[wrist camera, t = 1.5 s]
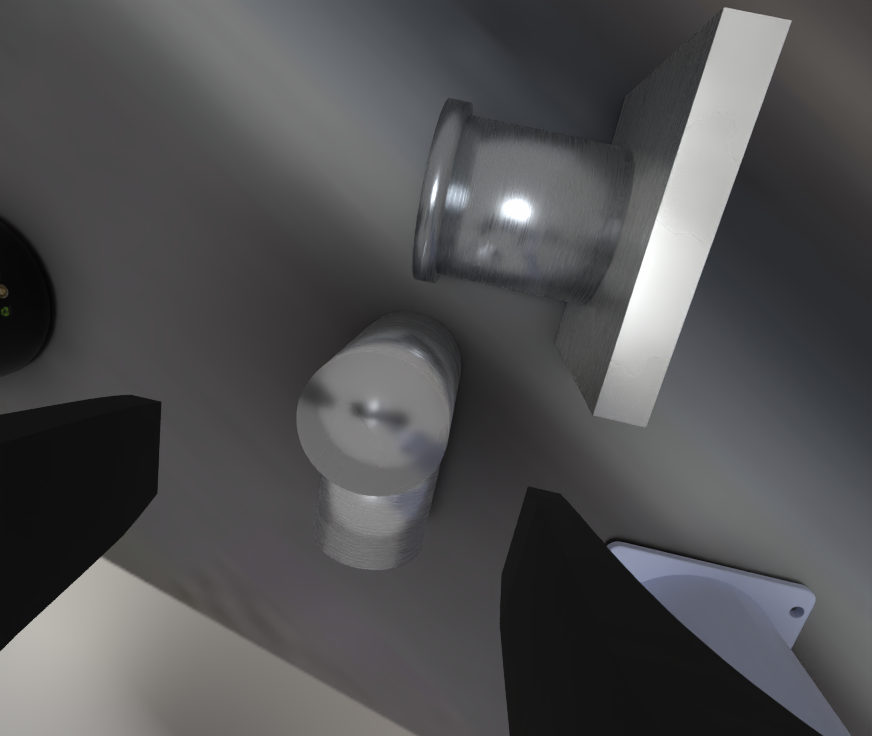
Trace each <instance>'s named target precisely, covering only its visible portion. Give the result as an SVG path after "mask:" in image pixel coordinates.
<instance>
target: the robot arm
mask: <svg viewBox="0 0 872 736" xmlns="http://www.w3.org/2000/svg"><path fill="white" fill-rule="evenodd" d="M160 421H161V402H160V401H155V400H151V399H147V398H142V397H138V396H134V395H119V396H109V397H101V398H94V399H88V400H82V401H75V402H70V403H64V404H58V405H53V406H47V407H41V408H36V409H30V410H25V411H19V412H13V413H8V414H2V415H0V651H1V650H2V649H3V648H4V647H5V646H6V645H7V644H8V643H9V642H10V641H11V640H12V639H13V638H14V637H15V636H16V635H17V634H18V633H19V632H20V631H21V630H22V629H24V628H25V627H26V626H27V625H28V624H29V623H30V622H31V621H32V620H33V619H34V618H35V617H37V616H38V615H39V614H40V613H41V612H42V611H43V610H44V609H45V608H46V607H47V606H48V605H49V604H51V603H52V602H53V601H54V600H55V599H56V598H57V597H58V596H59V595H60V594H61V593H62V592H64V590H66V589H67V588H68V587H69V586H70V585H71V584H72V583H73V582H74V581H75V580H76V579H78V578H79V577H80V576H81V575H82V574H83V573H84V572H85V571H86V570H87V569H88V568H89V567H90V566H92V565H93V564H94V563H95V562H96V561H97V560H98V559H99V558H100V557H101V556H102V555H103V554H104V553H105V552H106V551H107V550H108V549H110V548H111V547H112V546H113V545H114V544H115V543H116V542H117V541H118V540H119V539H120V538H121V537H122V536H123V535H124V534H125V533H126V531H127V530H128V529H129V528H130V527H131V526H132V524H133V523H134V522H135V521H136V520H137V518H138V517H139V516H140V515H141V514H142V512H143V511H144V510H145V508H146V507H147V506H148V505H149V503H150V502H151V501H152V500H153V498H154V497H155V496H156V494H157V489H158V466H159V444H160ZM815 601H816V598H815V595H814V594H813V593H812V592H811V591H810V590H809V588H808V587H806V586H804V585H801V584H797V583H793V582H788V581H784V580H780V579H776V578H772V577H767V576H763V575H759V574H755V573H751V572H746V571H742V570H738V569H734V568H730V567H725V566H721V565H717V564H713V563H708V562H704V561H700V560H696V559H692V558H687V557H683V556H679V555H675V554H671V553H666V552H662V551H658V550H654V549H650V548H645V547H641V546H637V545H633V544H629V543H624V542H617V541H616V542H612V543H610V544H609V545H607V546H606V545H605V544H604V543H603V541H602V540H601V539H600V538H599V537H598V536H597V535H596V533H595V532H594V531H593V530H592V529H591V528H590V527H589V525H588V524H587V523H586V522H585V521H584V520H583V518H582V517H581V516H580V515H579V514H578V513H577V511H576V510H575V509H574V508H573V507H572V506H571V505H570V504H569V502H568V501H567V500H566V499H565V498H564V497H563V496H562V495H561V494H559V493H554V492H550V491H546V490H541V489H537V488H533V487H528V488H527V492H526V495H525V498H524V502H523V505H522V508H521V512H520V515H519V518H518V522H517V525H516V528H515V532H514V535H513V538H512V542H511V545H510V548H509V552H508V555H507V558H506V562H505V565H504V568H503V572H502V579H501V603H500V632H501V644H502V656H503V667H504V678H505V689H506V700H507V711H508V721H509V732H510V736H851V735H850V733H849V732H848V730H847V729H846V727H845V726H844V725H843V723H842V722H841V720H840V719H839V717H838V716H837V715H836V713H835V712H834V710H833V709H832V707H831V706H830V705H829V703H828V702H827V700H826V699H825V697H824V696H823V695H822V693H821V692H820V690H819V689H818V687H817V686H816V685H815V683H814V682H813V680H812V679H811V677H810V676H809V675H808V673H807V672H806V670H805V669H804V667H803V666H802V665H801V663H800V662H799V660H798V659H797V657H796V656H795V655H794V653H793V652H792V650H791V648H792V646H793V645H794V643H795V641H796V639H797V637H798V635H799V633H800V631H801V629H802V627H803V626H804V624H805V622H806V620H807V618H808V616H809V614H810V612H811V610H812V608H813V606H814V605H815ZM794 607H797V608H796V609H794V610H791V609H792V608H794Z"/></svg>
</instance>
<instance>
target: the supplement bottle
mask: <svg viewBox="0 0 872 736" xmlns="http://www.w3.org/2000/svg"><path fill="white" fill-rule="evenodd" d="M50 319H51V303H50V295H49V291H48V287H47V284H46V281H45V278H44V275H43V273H42V271H41V269H40V267H39V265H38V263H37V261H36V259H35V258H34V256H33V255H32V253H31V252H30V250H29V249H28V248H27V246H26V245H25V244H24V243H23V242H22V241H21V239H20V238H19V237H18V236H17V235H16V234H15V233H14V232H12V231H11V230H10V229H9V228H8V227H7V226H5V225H4V224H3V223H1V222H0V377H2V376H5V375H7V374H10V373H12V372H14V371H16V370H18V369H20V368H21V367H23V366H24V365H25V364H27V363H28V362H29V361H30V360H31V359H32V358H33V357H34V356H35V355H36V354H37V353H38V351H39V350H40V348H41V347H42V345H43V343H44V341H45V339H46V336H47V333H48V329H49V325H50Z"/></svg>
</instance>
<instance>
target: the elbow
mask: <svg viewBox="0 0 872 736" xmlns="http://www.w3.org/2000/svg"><path fill="white" fill-rule="evenodd" d="M460 375H461V355H460V351H459V348H458V346H457V343H456V341H455V339H454V338H453V336H452V335H451V333H450V332H449V331H448V330H447V329H446V328H445V327H444V326H443V325H442V324H441V323H440V322H438V321H437V320H435V319H434V318H432V317H430V316H428V315H425V314H422V313H419V312H413V311H399V312H393V313H389V314H387V315H384V316H382V317H380V318H379V319H377V320H375V321H374V322H373V323H372V324H370V325H369V326H368V327H367V328H366V329H365V330H363V331H362V332H361V333H360V334H359V335H358V336H357V337H355V338H354V339H353V340H352V341H351V342H350V343H349V344H347V345H346V346H345V347H344V348H343V349H342V350H341V351H339V352H338V353H337V354H336V355H335V356H334V357H333V358H331V359H330V360H329V361H328V362H327V363H326V364H325V365H323V366H322V367H321V368H320V369H319V370H318V371H317V372H316V373H315V374H314V375H313V376H312V377H311V378H310V380H309V381H308V382H307V384H306V385H305V387H304V389H303V391H302V393H301V396H300V399H299V402H298V407H297V416H296V422H297V431H298V436H299V439H300V442H301V445H302V448H303V450H304V452H305V454H306V455H307V457H308V459H309V460H310V462H311V463H312V464H313V465H314V467H315V468H316V469H317V470H318V471H319V472H320V473H321V474H322V477H321V483H320V490H319V496H318V502H317V509H316V515H315V522H314V537H315V540H316V542H317V544H318V545H319V547H320V548H321V549H322V550H323V551H324V552H325V553H326V554H327V555H329V556H330V557H332V558H333V559H335V560H337V561H339V562H341V563H343V564H346V565H348V566H352V567H355V568H360V569H367V570H385V569H391V568H395V567H399V566H401V565H404V564H406V563H408V562H409V561H411V560H412V559H413V558H414V557H415V556H416V555H417V554H418V553H419V551H420V549H421V546H422V542H423V538H424V534H425V529H426V525H427V521H428V516H429V512H430V508H431V503H432V499H433V495H434V491H435V486H436V482H437V478H438V473H439V469H440V465H441V460H442V458H443V456H444V453H445V450H446V447H447V443H448V438H449V432H450V427H451V422H452V417H453V412H454V406H455V401H456V396H457V391H458V386H459V380H460Z"/></svg>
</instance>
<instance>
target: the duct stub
mask: <svg viewBox="0 0 872 736" xmlns="http://www.w3.org/2000/svg"><path fill="white" fill-rule="evenodd" d="M790 24H791V20H786V19H781V18H776V17H771V16H765V15H760V14H755V13H750V12H745V11H740V10H735V9H730V8H725V7H724V8H723V9H722V10H721V11H720V12H719V13H717V14H716V15H715V16H714V17H713V18H712V19H711V20H710V21H709V22H707V23H706V24H705V25H704V26H703V27H702V28H701V29H700V30H699V31H698V32H696V33H695V34H694V35H693V36H692V37H691V38H690V39H689V40H688V41H686V42H685V43H684V44H683V45H682V46H681V47H680V48H679V49H678V50H677V51H675V52H674V53H673V54H672V55H671V56H670V57H669V58H668V59H667V60H665V61H664V62H663V63H662V64H661V65H660V66H659V67H658V68H657V69H656V70H654V71H653V72H652V73H651V74H650V75H649V76H648V77H647V78H646V79H644V80H643V81H642V82H641V83H640V84H639V85H638V86H637V87H636V88H635V89H633V90H632V91H631V92H630V93H629V94H628V95H627V96H626V97H625V98H624V102H623V105H622V109H621V112H620V116H619V119H618V123H617V126H616V130H615V133H614V137H613V140H612V144H606V143H602V142H597V141H592V140H587V139H582V138H578V137H573V136H568V135H563V134H558V133H554V132H549V131H544V130H539V129H534V128H529V127H525V126H520V125H515V124H510V123H505V122H501V121H496V120H491V119H486V118H481V117H477V116H472V103H470V102H465V101H461V100H456V99H451V98H448V99H447V100H446V102H445V104H444V106H443V109H442V111H441V114H440V117H439V120H438V123H437V127H436V130H435V134H434V137H433V141H432V145H431V149H430V154H429V158H428V162H427V167H426V172H425V176H424V182H423V187H422V192H421V198H420V203H419V210H418V216H417V223H416V230H415V239H414V249H413V276H414V278H415V279H417V280H422V281H426V282H431V283H436V282H437V280H438V277H439V275H440V274H442V275H447V276H451V277H456V278H460V279H465V280H469V281H474V282H478V283H483V284H487V285H492V286H496V287H501V288H505V289H510V290H515V291H519V292H524V293H528V294H533V295H537V296H542V297H546V298H551V299H555V300H560V301H564V302H566V306H565V309H564V313H563V316H562V320H561V323H560V327H559V330H558V334H557V337H556V341H555V344H556V346H557V348H558V350H559V352H560V354H561V356H562V358H563V359H564V361H565V363H566V365H567V367H568V369H569V371H570V373H571V375H572V376H573V378H574V380H575V382H576V384H577V386H578V388H579V390H580V392H581V394H582V395H583V397H584V399H585V401H586V403H587V405H588V407H589V409H590V411H591V413H592V414H593V416H598V417H602V418H607V419H611V420H615V421H620V422H624V423H628V424H633V425H637V426H641V427H646V426H647V424H648V421H649V418H650V415H651V412H652V410H653V407H654V404H655V401H656V398H657V396H658V393H659V390H660V387H661V384H662V382H663V379H664V376H665V373H666V370H667V368H668V365H669V362H670V359H671V356H672V354H673V351H674V348H675V345H676V343H677V340H678V337H679V334H680V331H681V329H682V326H683V323H684V320H685V317H686V315H687V312H688V309H689V306H690V303H691V301H692V298H693V295H694V292H695V289H696V287H697V284H698V281H699V278H700V275H701V273H702V270H703V267H704V264H705V261H706V259H707V256H708V253H709V250H710V247H711V245H712V242H713V239H714V236H715V234H716V231H717V228H718V225H719V222H720V220H721V217H722V214H723V211H724V208H725V206H726V203H727V200H728V197H729V194H730V192H731V189H732V186H733V183H734V180H735V178H736V175H737V172H738V169H739V166H740V164H741V161H742V158H743V155H744V152H745V150H746V147H747V144H748V141H749V138H750V136H751V133H752V130H753V127H754V125H755V122H756V119H757V116H758V113H759V111H760V108H761V105H762V102H763V99H764V97H765V94H766V91H767V88H768V85H769V83H770V80H771V77H772V74H773V71H774V69H775V66H776V63H777V60H778V57H779V55H780V52H781V49H782V46H783V43H784V41H785V38H786V35H787V32H788V29H789V27H790Z"/></svg>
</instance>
